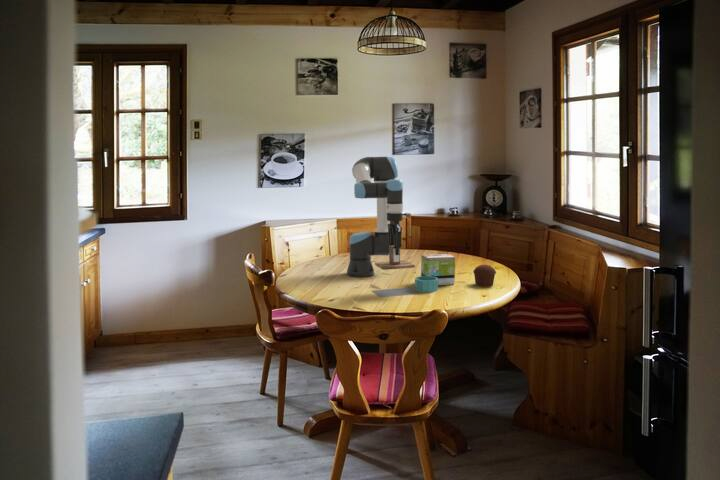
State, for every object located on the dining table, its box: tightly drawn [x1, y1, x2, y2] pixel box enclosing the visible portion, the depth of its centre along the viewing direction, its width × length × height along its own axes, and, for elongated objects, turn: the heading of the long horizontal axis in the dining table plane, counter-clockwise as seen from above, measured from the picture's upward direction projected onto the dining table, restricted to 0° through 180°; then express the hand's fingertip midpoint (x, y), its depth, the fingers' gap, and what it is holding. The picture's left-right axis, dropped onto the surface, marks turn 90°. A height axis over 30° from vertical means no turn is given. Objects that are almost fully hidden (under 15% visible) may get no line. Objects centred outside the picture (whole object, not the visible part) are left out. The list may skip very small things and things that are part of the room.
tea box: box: [420, 253, 456, 286], centre depth 310 cm, size 15×10×15 cm
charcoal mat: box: [371, 287, 420, 298], centre depth 292 cm, size 14×20×1 cm
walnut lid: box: [374, 245, 416, 271], centre depth 290 cm, size 12×16×10 cm
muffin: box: [472, 264, 497, 287], centre depth 307 cm, size 12×11×10 cm
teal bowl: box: [414, 275, 439, 293], centre depth 296 cm, size 11×11×6 cm
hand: (394, 260), depth 290 cm, fingers closed on walnut lid, 4 cm apart
